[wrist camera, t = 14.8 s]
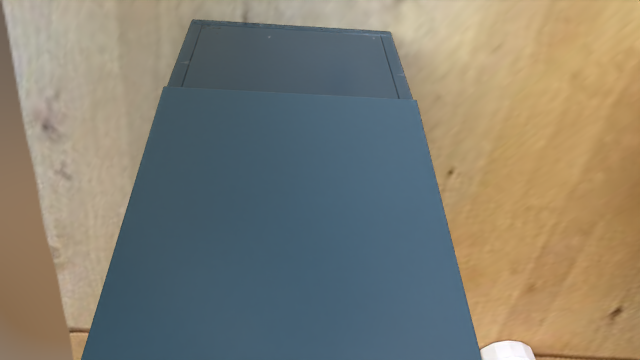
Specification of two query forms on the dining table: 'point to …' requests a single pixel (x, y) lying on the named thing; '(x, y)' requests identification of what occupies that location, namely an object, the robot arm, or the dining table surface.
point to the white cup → (507, 351)
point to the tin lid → (283, 236)
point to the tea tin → (290, 60)
